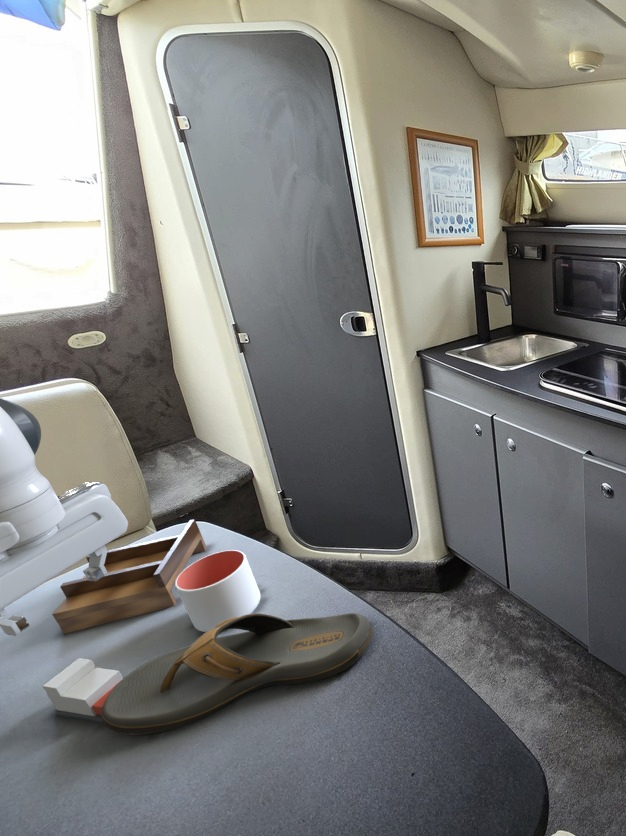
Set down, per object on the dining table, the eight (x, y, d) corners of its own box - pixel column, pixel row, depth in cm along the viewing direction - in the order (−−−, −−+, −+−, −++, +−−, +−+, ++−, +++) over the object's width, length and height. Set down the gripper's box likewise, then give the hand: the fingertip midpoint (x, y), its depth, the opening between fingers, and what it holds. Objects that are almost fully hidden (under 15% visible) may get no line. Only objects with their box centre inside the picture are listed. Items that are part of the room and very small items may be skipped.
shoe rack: (65, 636, 85) (43, 600, 83) (115, 571, 100) (98, 539, 97) (175, 607, 90) (159, 573, 87) (208, 549, 105) (195, 519, 102)
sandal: (154, 663, 79) (131, 620, 76) (380, 614, 87) (368, 573, 83) (95, 752, 67) (64, 705, 63) (365, 686, 74) (350, 641, 71)
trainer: (57, 716, 72) (37, 687, 69) (95, 685, 76) (77, 656, 74) (107, 725, 70) (88, 695, 68) (143, 692, 75) (126, 663, 73)
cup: (209, 600, 92) (190, 557, 88) (269, 586, 94) (253, 544, 91) (184, 643, 83) (162, 597, 79) (252, 626, 86) (233, 581, 82)
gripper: (82, 474, 73) (121, 549, 78) (-127, 574, 54) (-58, 665, 59) (118, 476, 71) (154, 552, 77) (-83, 579, 53) (-17, 671, 58)
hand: (61, 602), depth 68 cm, fingers open, 8 cm apart
